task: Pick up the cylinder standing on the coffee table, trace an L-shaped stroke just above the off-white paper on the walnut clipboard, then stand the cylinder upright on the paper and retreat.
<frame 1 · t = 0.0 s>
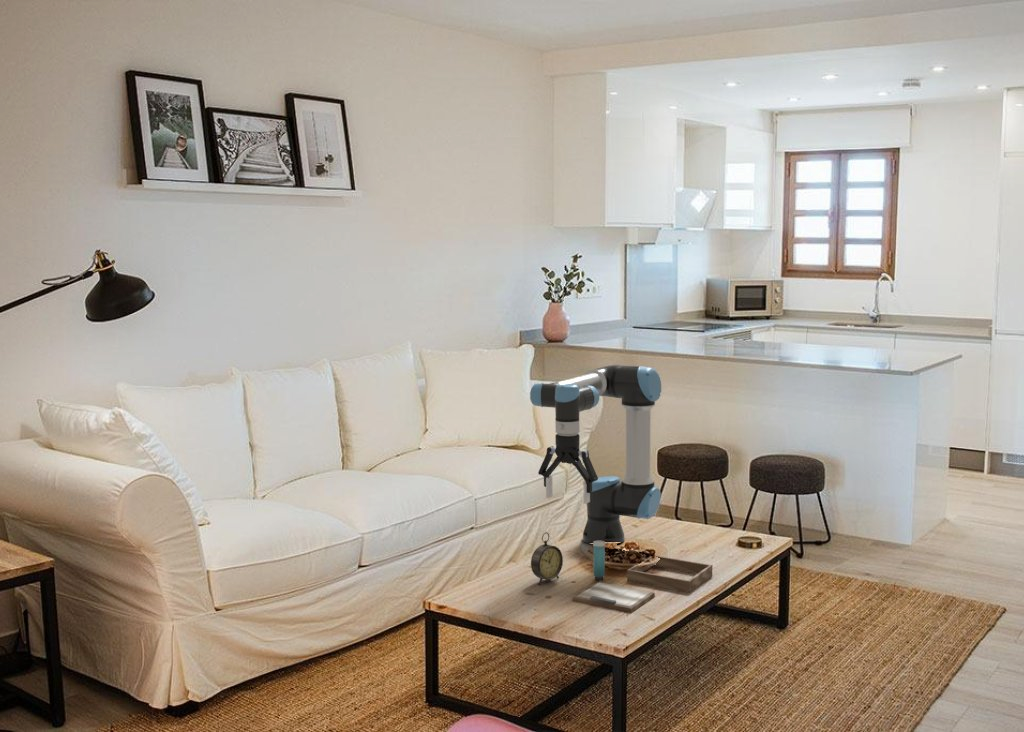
hand: (567, 500, 327), 28 cm above the table, fingers open, 13 cm apart
cylinder: (599, 579, 336), on the table
gray brown tray: (669, 578, 337), on the table
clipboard: (613, 598, 319), on the table
alarm clock: (546, 581, 336), on the table
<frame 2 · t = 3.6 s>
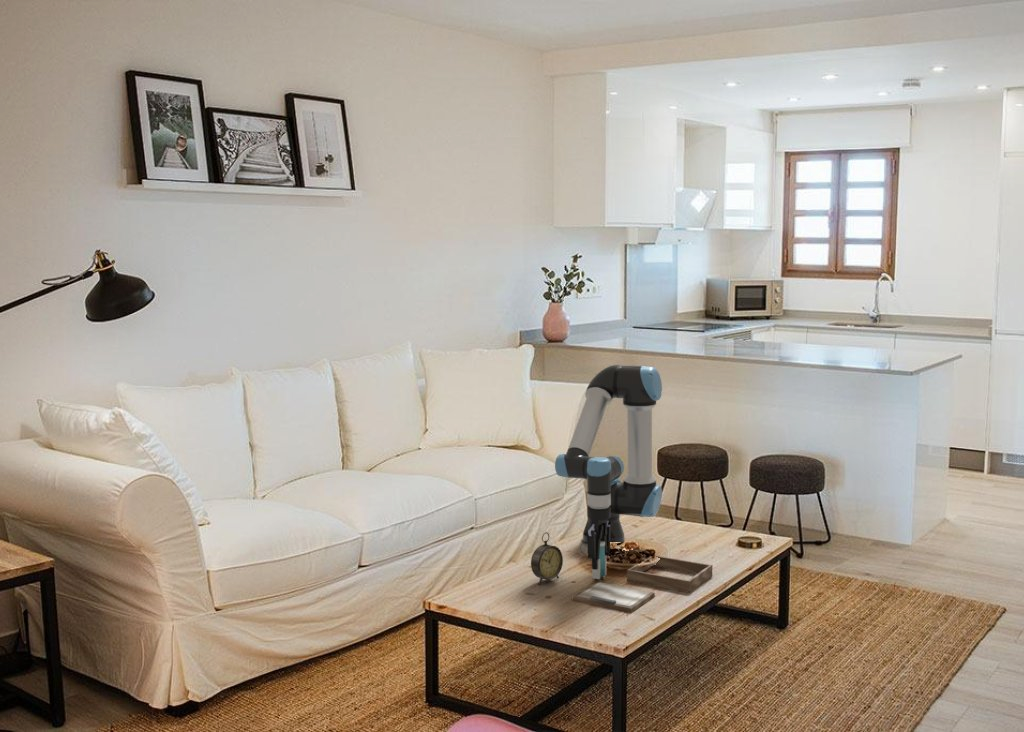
hand: (599, 576, 336), 1 cm above the table, fingers closed on cylinder, 3 cm apart
cylinder: (599, 579, 336), on the table, touching gripper
everything else where it was.
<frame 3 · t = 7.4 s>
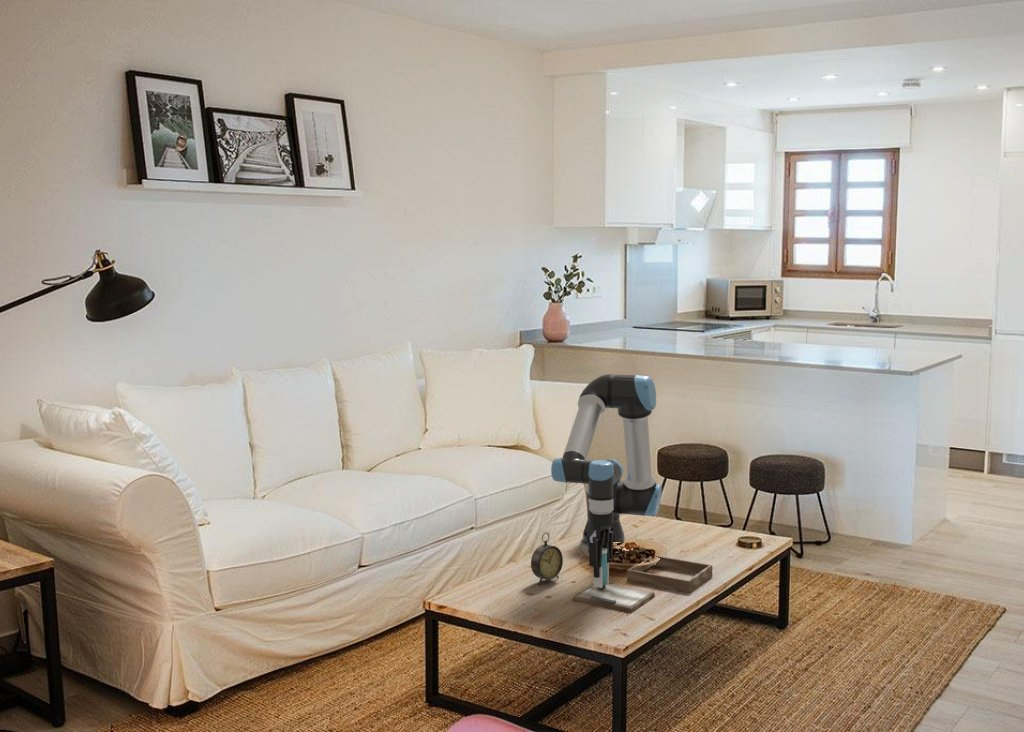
hand: (601, 584, 322), 3 cm above the table, fingers closed on cylinder, 3 cm apart
cylinder: (601, 588, 322), point 2 cm above the table, touching gripper
everything else where it was.
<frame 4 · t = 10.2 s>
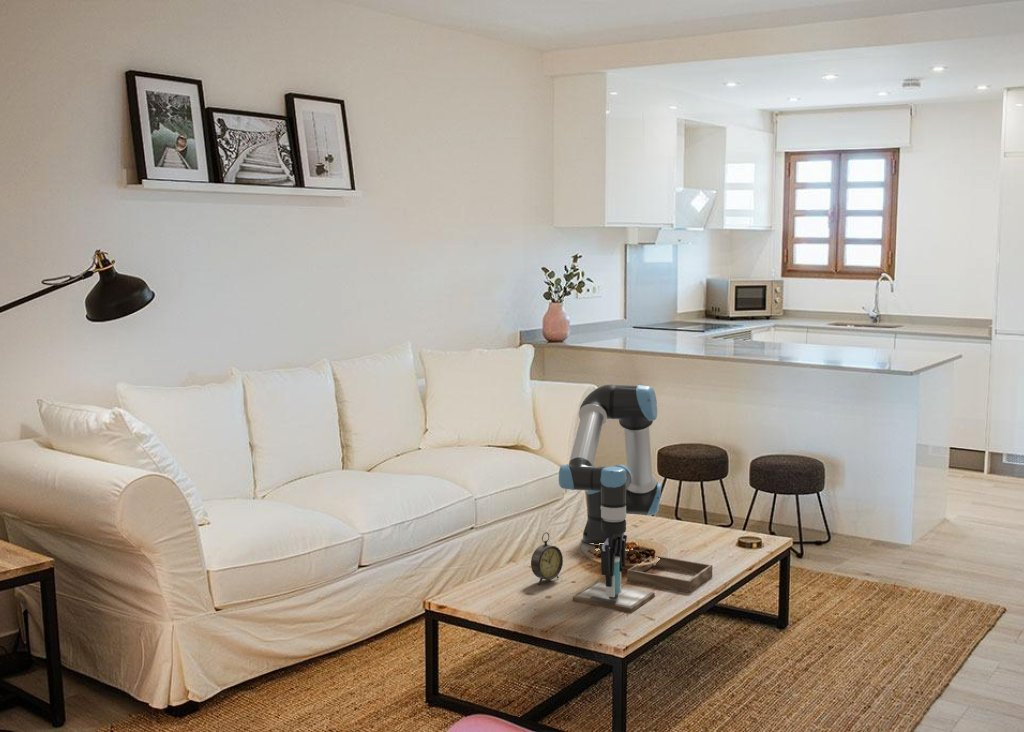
hand: (613, 594, 314), 3 cm above the table, fingers closed on cylinder, 3 cm apart
cylinder: (613, 597, 314), point 2 cm above the table, touching gripper
everything else where it was.
when the fingers open (3 cm above the table, at t = 11.7 s): cylinder stays where it is, resting on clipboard.
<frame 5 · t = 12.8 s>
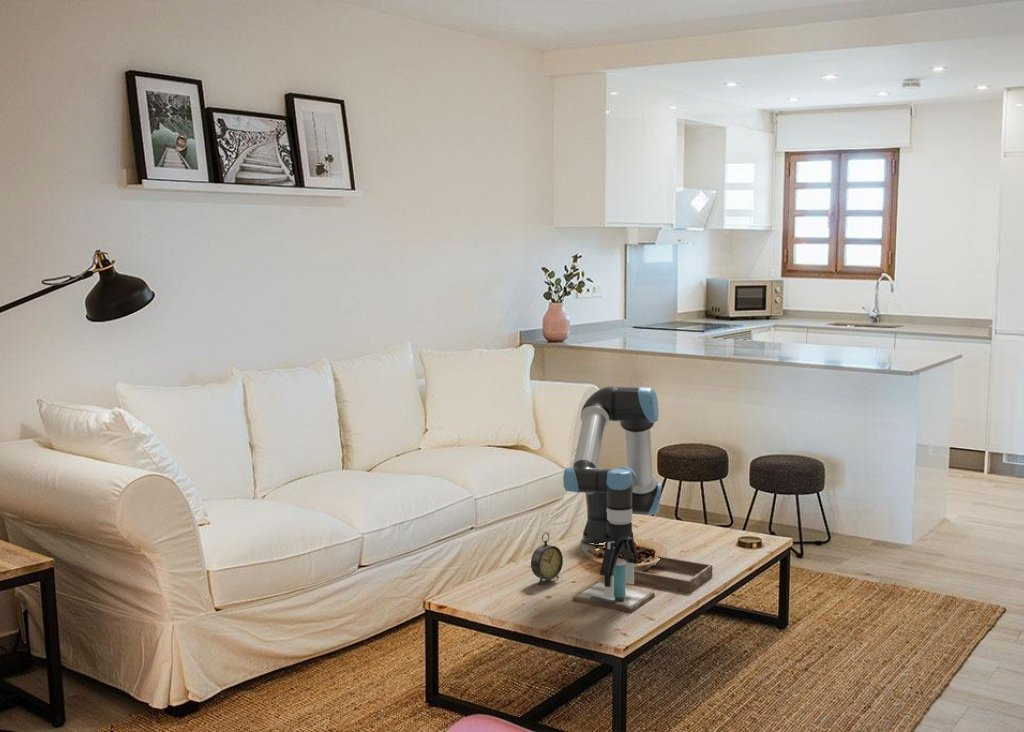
hand: (619, 589, 313), 5 cm above the table, fingers open, 13 cm apart
cylinder: (619, 600, 313), point 1 cm above the table, touching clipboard
everything else where it was.
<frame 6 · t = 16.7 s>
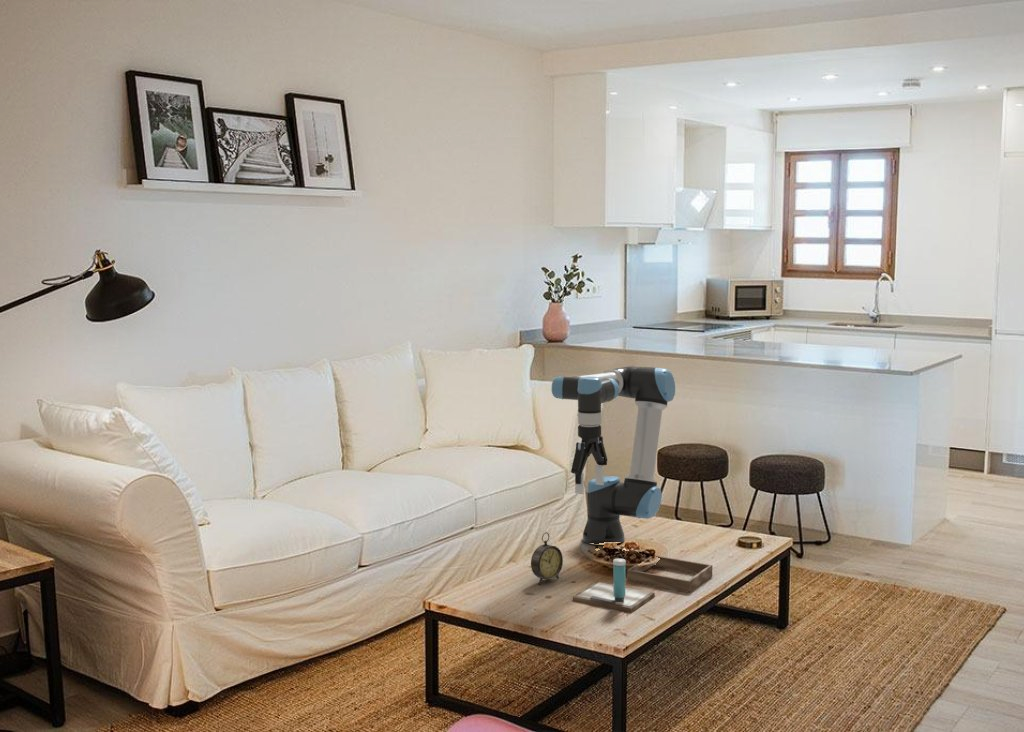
hand: (589, 489, 338), 29 cm above the table, fingers open, 13 cm apart
nothing on the table moved.
at the end: cylinder inside the target area (5.7 cm from its centre), point 1.3 cm above the table; cylinder tilted 1°; the gripper is holding nothing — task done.
